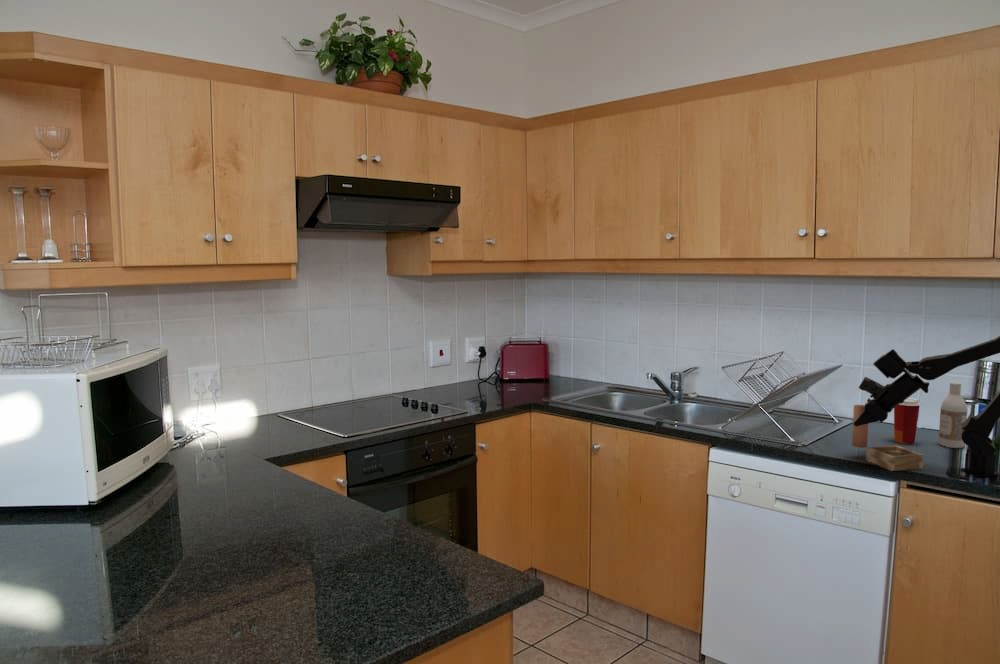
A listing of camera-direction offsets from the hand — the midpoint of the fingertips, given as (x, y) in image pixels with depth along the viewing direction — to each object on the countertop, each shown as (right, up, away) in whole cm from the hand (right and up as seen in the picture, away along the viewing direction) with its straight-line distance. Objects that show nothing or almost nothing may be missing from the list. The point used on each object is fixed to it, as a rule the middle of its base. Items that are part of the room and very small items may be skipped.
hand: (855, 423), depth 209 cm
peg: (+1, -7, 0) cm, 7 cm away
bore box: (+7, -11, -7) cm, 15 cm away
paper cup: (+24, -8, +17) cm, 30 cm away
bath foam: (+36, -9, +12) cm, 39 cm away
